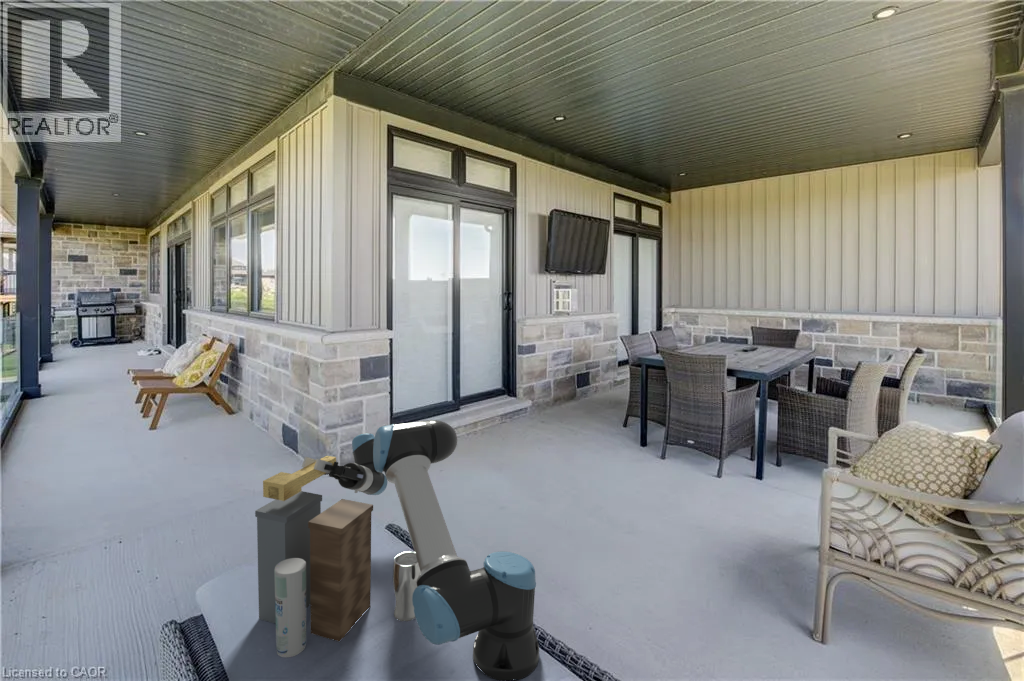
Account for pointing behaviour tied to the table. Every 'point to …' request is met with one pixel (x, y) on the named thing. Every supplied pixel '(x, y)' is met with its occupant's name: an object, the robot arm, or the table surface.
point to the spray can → (290, 606)
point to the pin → (292, 481)
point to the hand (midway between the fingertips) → (310, 463)
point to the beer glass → (405, 584)
